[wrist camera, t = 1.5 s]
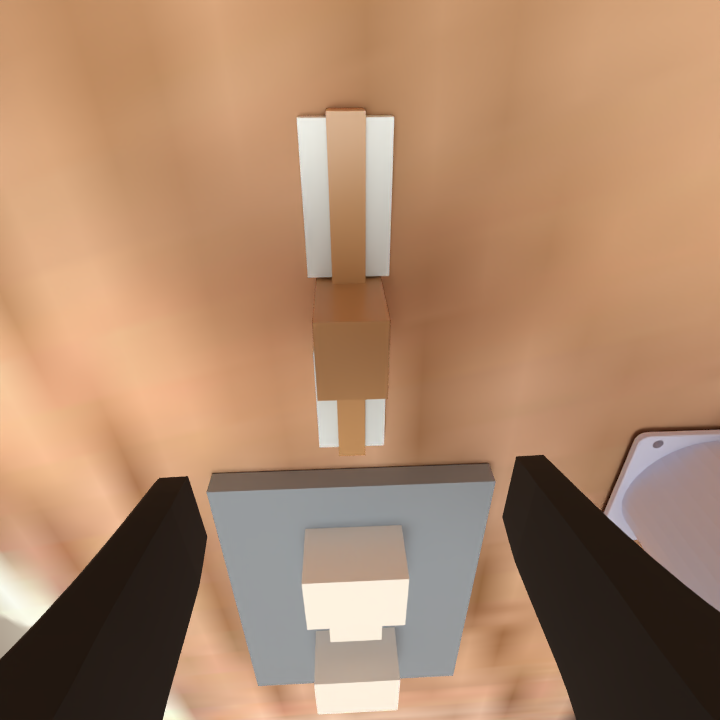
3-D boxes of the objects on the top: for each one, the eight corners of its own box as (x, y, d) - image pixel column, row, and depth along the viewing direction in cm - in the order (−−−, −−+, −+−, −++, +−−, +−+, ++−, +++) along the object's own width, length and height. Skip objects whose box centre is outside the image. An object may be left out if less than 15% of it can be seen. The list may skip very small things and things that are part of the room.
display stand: (488, 463, 23) (516, 533, 20) (449, 657, 34) (462, 725, 30) (212, 473, 23) (189, 547, 19) (260, 667, 34) (251, 737, 30)
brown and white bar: (391, 107, 15) (409, 119, 11) (382, 436, 22) (391, 506, 19) (297, 108, 15) (286, 120, 11) (320, 439, 22) (317, 509, 18)
